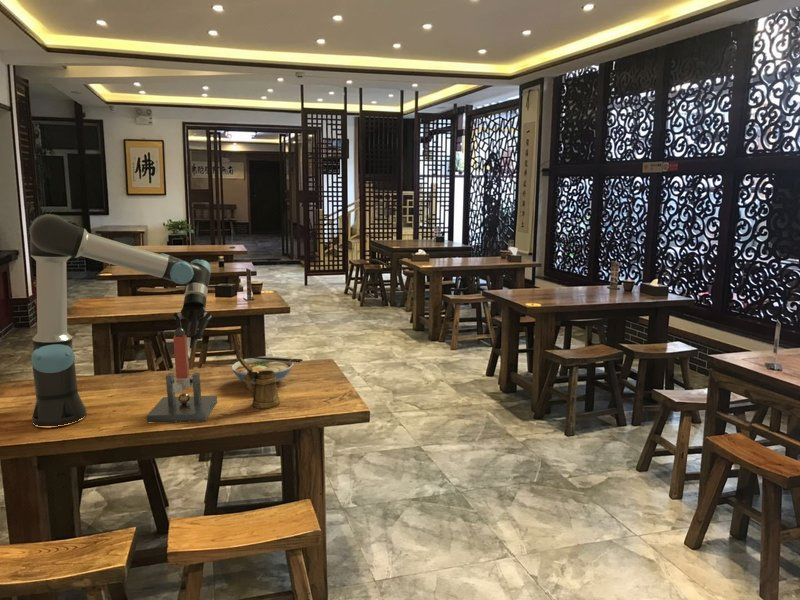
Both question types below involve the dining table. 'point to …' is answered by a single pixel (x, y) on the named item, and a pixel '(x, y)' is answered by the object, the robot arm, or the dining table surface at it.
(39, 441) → the dining table surface
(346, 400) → the dining table surface
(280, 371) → the ramen bowl
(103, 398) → the dining table surface
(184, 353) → the lever
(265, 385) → the wooden mug
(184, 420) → the stand
